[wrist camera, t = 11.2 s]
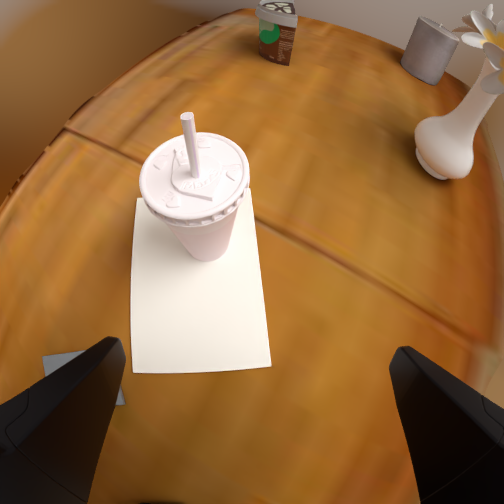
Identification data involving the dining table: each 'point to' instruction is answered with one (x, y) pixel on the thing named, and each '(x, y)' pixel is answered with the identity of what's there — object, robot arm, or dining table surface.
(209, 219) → the smoothie
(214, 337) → the paper
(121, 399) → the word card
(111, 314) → the dining table surface
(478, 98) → the flower vase
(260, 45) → the food container
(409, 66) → the pillar candle
